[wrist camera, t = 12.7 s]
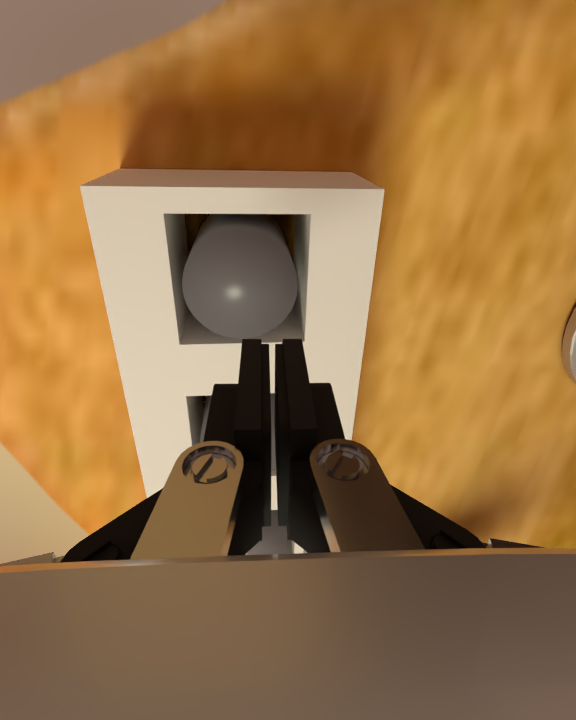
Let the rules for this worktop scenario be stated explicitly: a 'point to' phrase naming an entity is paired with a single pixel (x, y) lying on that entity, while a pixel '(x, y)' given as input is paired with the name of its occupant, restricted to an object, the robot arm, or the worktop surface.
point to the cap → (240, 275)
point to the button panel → (184, 332)
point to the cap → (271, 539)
